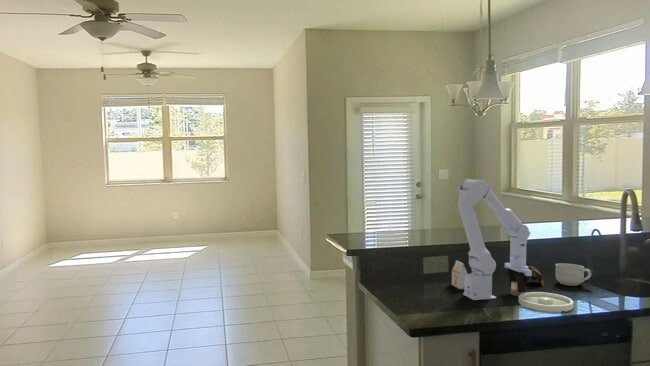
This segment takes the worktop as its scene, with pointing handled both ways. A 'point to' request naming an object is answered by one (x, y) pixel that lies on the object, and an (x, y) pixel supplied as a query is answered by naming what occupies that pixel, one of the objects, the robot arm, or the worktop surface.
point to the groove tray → (546, 301)
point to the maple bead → (514, 288)
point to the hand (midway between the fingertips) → (517, 290)
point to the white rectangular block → (458, 275)
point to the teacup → (571, 274)
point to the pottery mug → (536, 275)
